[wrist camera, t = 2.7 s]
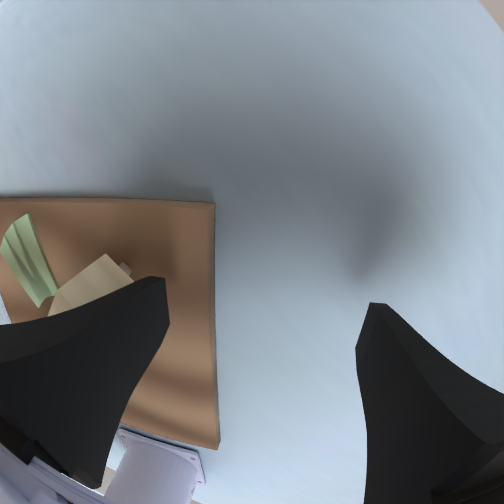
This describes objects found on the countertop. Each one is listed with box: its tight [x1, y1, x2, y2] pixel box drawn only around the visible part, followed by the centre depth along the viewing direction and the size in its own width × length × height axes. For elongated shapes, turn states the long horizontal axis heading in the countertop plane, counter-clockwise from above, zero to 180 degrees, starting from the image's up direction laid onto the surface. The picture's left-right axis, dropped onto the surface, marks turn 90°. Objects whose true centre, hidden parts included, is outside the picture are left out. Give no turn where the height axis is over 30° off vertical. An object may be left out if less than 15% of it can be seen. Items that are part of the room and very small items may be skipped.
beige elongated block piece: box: [47, 254, 134, 317], centre depth 12 cm, size 12×5×4 cm, turn 137°
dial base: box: [0, 197, 220, 450], centre depth 15 cm, size 18×18×1 cm
